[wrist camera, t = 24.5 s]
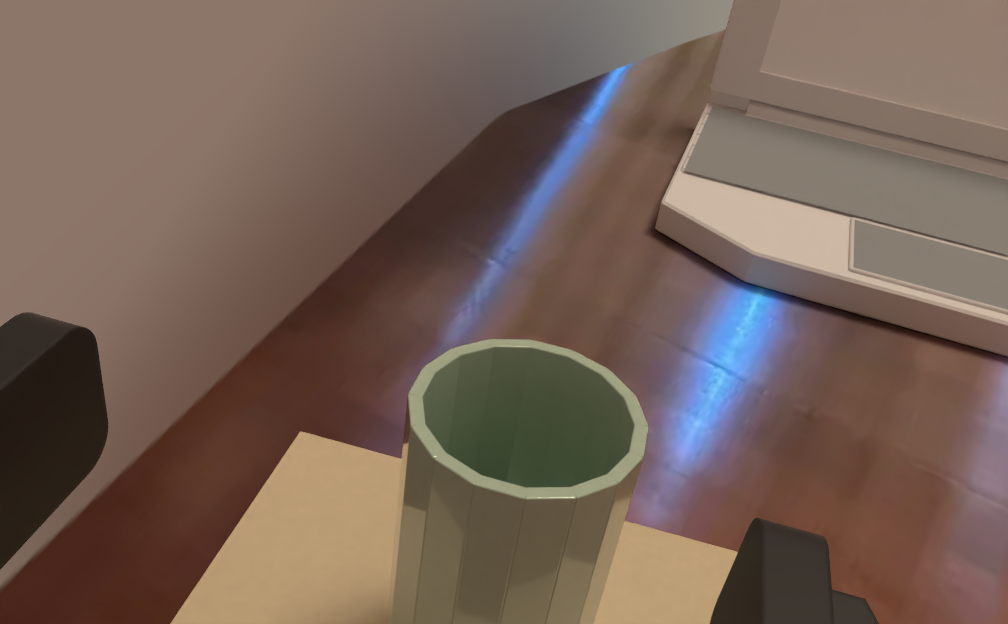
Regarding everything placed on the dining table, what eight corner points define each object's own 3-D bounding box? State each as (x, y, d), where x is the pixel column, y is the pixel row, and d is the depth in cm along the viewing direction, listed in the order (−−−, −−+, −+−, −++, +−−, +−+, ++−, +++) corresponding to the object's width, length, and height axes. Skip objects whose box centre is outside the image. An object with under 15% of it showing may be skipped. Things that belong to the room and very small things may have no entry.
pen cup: (355, 714, 28) (372, 456, 22) (420, 561, 33) (449, 317, 27) (554, 778, 27) (631, 528, 21) (589, 610, 32) (658, 371, 26)
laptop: (641, 257, 55) (769, -245, 40) (700, 127, 75) (800, -243, 60) (1240, 427, 48) (1656, -100, 34) (1132, 236, 68) (1366, -151, 53)
